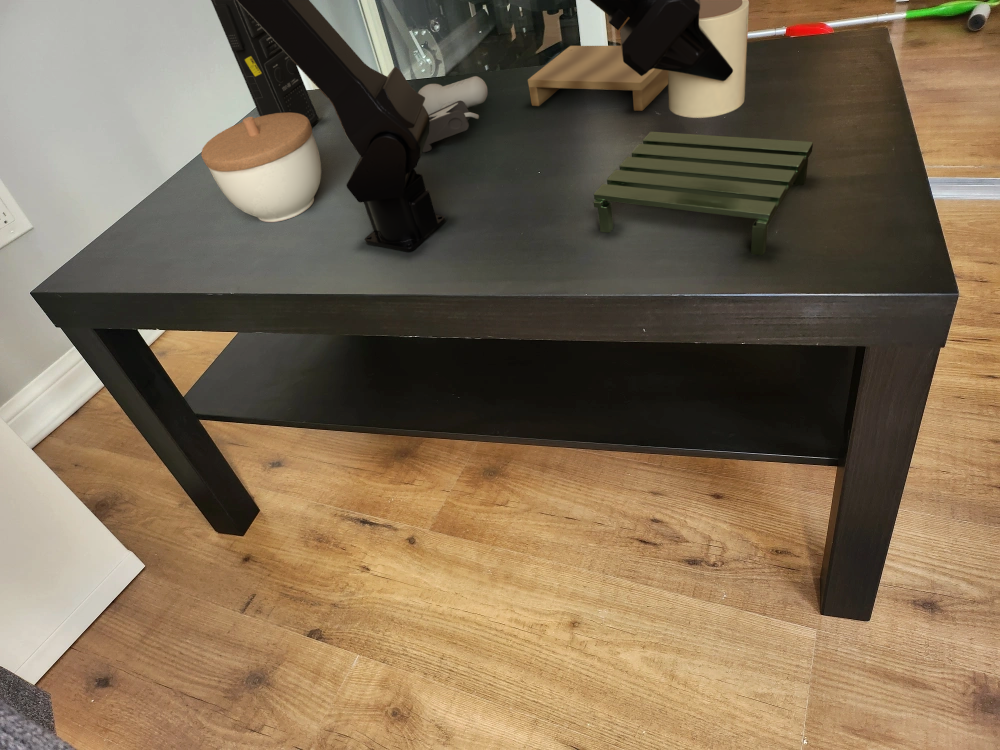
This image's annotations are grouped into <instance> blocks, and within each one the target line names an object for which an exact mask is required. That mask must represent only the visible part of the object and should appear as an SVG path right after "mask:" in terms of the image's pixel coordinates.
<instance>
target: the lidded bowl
mask: <svg viewBox="0 0 1000 750" xmlns="http://www.w3.org/2000/svg"><path fill="white" fill-rule="evenodd" d="M312 127H313V126H312ZM312 127H311V124H310V122H309V120H308V118H307V117H305V116H304V115H302V114H298V113H275V114H269V115H264V116H257V117H254V116H247V117H245V118H243V119H242V121H241V122H238V123H237V124H235V125H232V126H229V127H228V128H226V129H224V130H222V131H220V132H219V133H217V134H216V135H215V136H213V137H212V138H211V139H209V140H208V141H207V142H206V143H205V144H204V146H203V147H202V149H201V153H200V155H201V158H202V161H203V162H204V164H205V165H206V167H207V168H208V170H209V171H210V173H211V176H212V177H213V179H214V181H215V183H216V185H217V186H218V187H219V189H220V191H221V192H222V193H223V195H224V196H225V197H226V198H227V200H228V201H229V202H230V203H231V204H232V205H233V206H234V207H236V208H237V209H239V210H240V211H242V212H243V213H246V214H248V215H249V216H253V217H255V218H257V219H258V220H259V221H260V222H261V221H262V222H264V223H277V222H282V221H286V220H289V219H292V218H295V217H297V216H299V215H301V214H302V213H304V212H306V211H307V210H308V209H309V208H310V207H311V206H313V203H314V202H315V195H316V194H317V192H318V189H319V187H320V184H321V180H322V162H321V155H320V152H319V148H318V144H317V142H316V139H315V136H314V133H313V128H312Z"/></svg>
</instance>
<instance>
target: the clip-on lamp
mask: <svg viewBox="0 0 1000 750" xmlns="http://www.w3.org/2000/svg"><path fill="white" fill-rule="evenodd" d="M488 91H489V90H488V86H487V83H486V82H485V80H484V79H482V78H481V77H479V76H477V75H475V76H470V77H468V78H465V79H461V80H459V81H456V82H453V83H450V84H445V85H441V84H439V83H428V84H425V85H424V86H423V87H421V88H420V89H419V90H418V92H417V93H419V94H420V95H422V96H424V97H425V101H424V103H423V106H424V107H425V109H426V111H427V112H428V115H429V118H430V129H429V134H428V137H427V139H426V142H425V145H424V148H423V150H422V153H427V152H430V151H431V150H432V148H433V146H432V144H433V143H435V142H438V141H441V140H443V139H446V138H449V137H452V136H454V135H458V134H460V133H463V132H465V131H467V130H468V129H469V126H470V123H469V121H468V120H470V118H473V119H475V120H479V118H480V115H479V114H477V113H474V112H471V111H470V110H469V108H471V107H475V106H477V105H478V106H479V105H481V104H484V103H485V101H487V100H486V99H487V97H488Z"/></svg>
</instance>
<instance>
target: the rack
mask: <svg viewBox="0 0 1000 750" xmlns="http://www.w3.org/2000/svg"><path fill="white" fill-rule="evenodd" d="M813 146H814V141H806V140H805V141H804V140H789V139H788V140H787V139H775V138H774V139H773V138H756V137H743V136H742V137H740V136H726V135H710V134H694V133H680V132H679V133H676V132H661V131H649V133H648V134H647V135H646V136H644V138H643V139H642V143H639V144H638V145H637V146H636V147H635V148H634V149H633V150H632V151H631V153H630V154H631V156H627V157H625V159H624V160H622V162H621V163H620V164H619V167H618V168H619V169H615V170H614V171H613V172H612V173H611V174H610V175H609V177H607V179H606V183H602V184H601V185H600V186H599V188H597V189H596V191H595V192H594V193H593V199H594V201H593V202H592V203H593V207H594V208H595V209H597V214H598V223H599V232H600V233H605V234H610V233H611V232H612V230H613V229H614V220H613V219H614V217H613V209H612V203H613V202H614V203H619V204H620V203H622V204H628V205H629V204H630V205H639V206H646V207H654V208H661V209H662V208H663V209H672V210H679V211H680V210H681V211H688V212H695V213H705V214H713V215H719V216H722V215H723V216H727V217H729V216H730V217H737V218H744V219H745V218H746V219H754V220H755V221H754V222H753V224H752V226H751V227H752V228H751V244H750V247H751V248H750V254H751V255H756V256H764V254H765V253H766V251H767V243H768V242H767V241H768V226H769V225H770V223H771V221H772V219H773V218H774V216H775V214H776V213H777V211H778V209H779V207H780V206H781V204H782V203H783V202H784V199H785V198H786V196H787V194H788V193H789V191H790V189H791V188H792V186H793V185H795V186H796V185H797V186H804V184H805V183H806V181H807V175H808V165H809V157H810V156H811V154H812V152H813V148H814V147H813Z"/></svg>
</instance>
